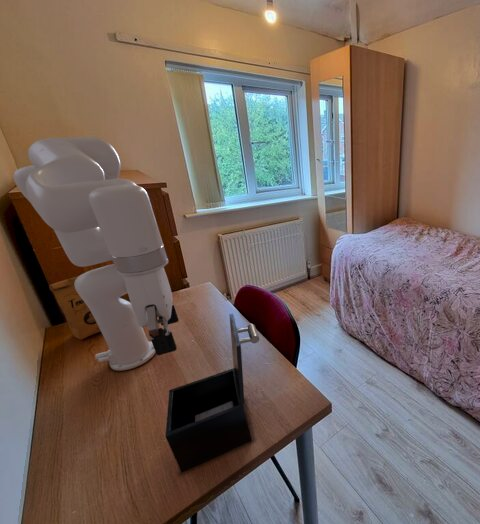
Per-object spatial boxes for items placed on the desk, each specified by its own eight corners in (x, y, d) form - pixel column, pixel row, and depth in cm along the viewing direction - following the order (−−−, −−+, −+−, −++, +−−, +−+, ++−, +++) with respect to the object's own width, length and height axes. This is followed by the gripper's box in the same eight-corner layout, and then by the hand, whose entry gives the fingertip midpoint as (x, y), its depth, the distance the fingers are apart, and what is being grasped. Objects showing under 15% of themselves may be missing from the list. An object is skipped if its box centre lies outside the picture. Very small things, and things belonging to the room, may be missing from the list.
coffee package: (120, 326, 108) (98, 274, 99) (78, 344, 99) (49, 289, 90) (112, 317, 114) (90, 267, 105) (72, 333, 105) (44, 280, 96)
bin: (181, 472, 61) (165, 436, 56) (182, 424, 71) (169, 390, 66) (252, 441, 67) (242, 405, 62) (243, 400, 77) (235, 367, 72)
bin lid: (236, 346, 56) (262, 340, 58) (229, 313, 66) (251, 310, 68) (240, 405, 61) (264, 397, 64) (233, 366, 72) (254, 361, 74)
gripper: (124, 246, 55) (151, 318, 62) (102, 285, 41) (140, 373, 48) (169, 239, 58) (190, 309, 65) (162, 274, 44) (189, 358, 51)
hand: (168, 336), depth 57 cm, fingers open, 9 cm apart
